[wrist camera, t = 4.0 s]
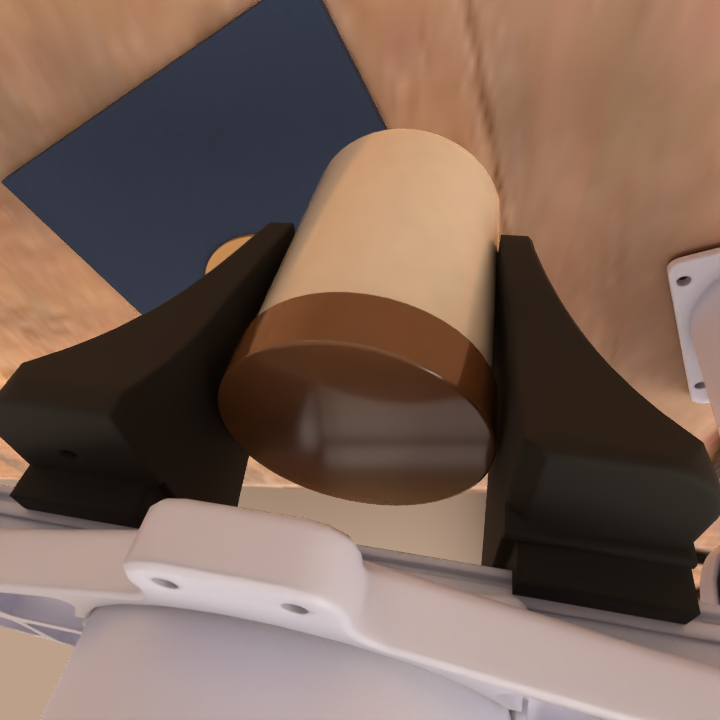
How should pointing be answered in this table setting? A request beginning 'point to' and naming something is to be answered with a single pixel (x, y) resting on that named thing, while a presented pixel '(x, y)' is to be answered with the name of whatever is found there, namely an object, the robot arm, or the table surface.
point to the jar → (378, 330)
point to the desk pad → (204, 152)
